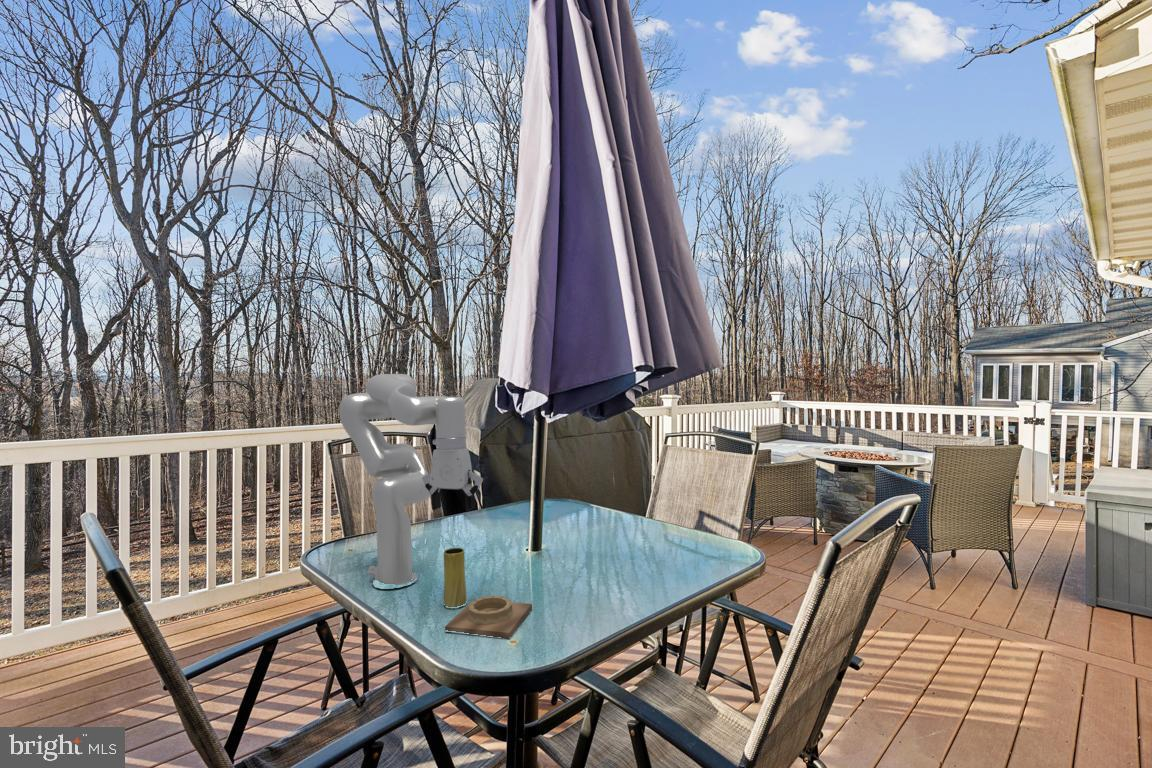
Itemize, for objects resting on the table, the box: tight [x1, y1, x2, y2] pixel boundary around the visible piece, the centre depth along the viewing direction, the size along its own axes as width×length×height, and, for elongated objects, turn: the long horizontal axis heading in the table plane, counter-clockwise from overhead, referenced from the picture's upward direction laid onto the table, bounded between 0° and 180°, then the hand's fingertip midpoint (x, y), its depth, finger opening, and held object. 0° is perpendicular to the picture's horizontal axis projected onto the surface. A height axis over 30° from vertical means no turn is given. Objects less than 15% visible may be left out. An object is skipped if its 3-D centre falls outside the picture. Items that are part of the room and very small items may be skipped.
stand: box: [444, 595, 533, 640], centre depth 131 cm, size 16×16×4 cm
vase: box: [443, 547, 468, 607], centre depth 141 cm, size 6×6×14 cm
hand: (452, 509), depth 140 cm, fingers open, 9 cm apart
